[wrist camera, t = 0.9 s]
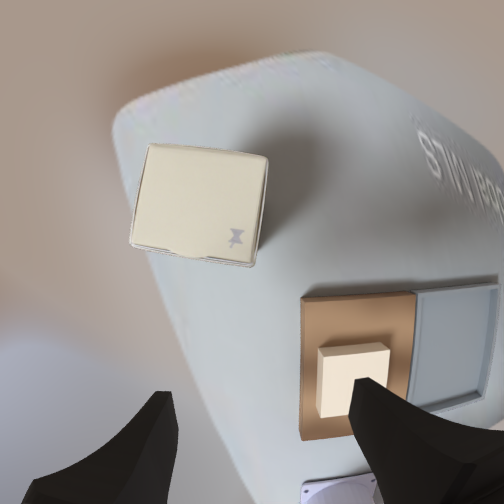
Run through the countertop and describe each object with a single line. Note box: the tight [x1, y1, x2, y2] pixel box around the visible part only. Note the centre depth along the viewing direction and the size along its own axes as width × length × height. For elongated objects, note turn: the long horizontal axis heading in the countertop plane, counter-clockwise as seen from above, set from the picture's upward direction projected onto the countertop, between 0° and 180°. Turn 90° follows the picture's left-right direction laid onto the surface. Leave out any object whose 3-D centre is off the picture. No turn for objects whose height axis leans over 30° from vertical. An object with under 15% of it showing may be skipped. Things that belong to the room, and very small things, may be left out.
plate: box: [299, 291, 416, 441], centre depth 24 cm, size 12×9×2 cm
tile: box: [316, 342, 390, 418], centre depth 22 cm, size 5×5×2 cm
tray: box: [406, 282, 501, 415], centre depth 24 cm, size 12×10×2 cm
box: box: [129, 143, 269, 268], centre depth 18 cm, size 5×4×13 cm
